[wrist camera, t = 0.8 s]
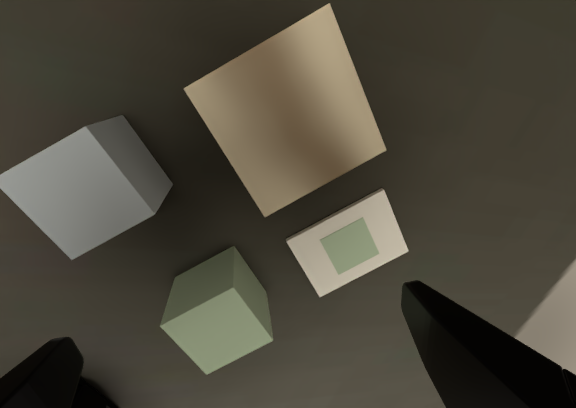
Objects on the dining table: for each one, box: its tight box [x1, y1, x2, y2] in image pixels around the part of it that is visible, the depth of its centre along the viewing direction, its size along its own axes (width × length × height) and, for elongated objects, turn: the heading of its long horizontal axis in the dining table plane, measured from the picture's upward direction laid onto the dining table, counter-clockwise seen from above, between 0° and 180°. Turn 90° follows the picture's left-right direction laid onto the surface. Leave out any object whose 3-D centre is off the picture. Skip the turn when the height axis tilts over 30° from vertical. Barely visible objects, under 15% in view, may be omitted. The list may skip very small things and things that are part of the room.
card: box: [286, 188, 408, 297], centre depth 24 cm, size 8×6×1 cm
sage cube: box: [160, 246, 273, 375], centre depth 22 cm, size 5×5×5 cm
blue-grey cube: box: [0, 115, 173, 260], centre depth 17 cm, size 5×5×5 cm
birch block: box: [184, 3, 386, 217], centre depth 18 cm, size 8×8×4 cm
